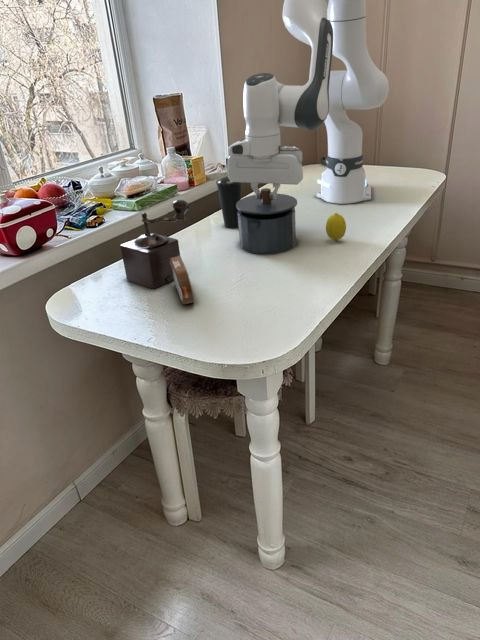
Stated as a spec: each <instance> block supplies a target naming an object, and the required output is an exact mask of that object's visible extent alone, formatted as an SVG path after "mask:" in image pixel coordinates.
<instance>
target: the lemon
mask: <svg viewBox="0 0 480 640" xmlns="http://www.w3.org/2000/svg"><path fill="white" fill-rule="evenodd" d="M346 231H347V224H346V219H345V217H344V216H343V215H342V214H339V213H338V212H335V213H333V214H331V215H330V216H329V217H328V218H327V220H326V223H325V233H326V235H327V236H328V238H329V239H331V240H333V241H334V242H338V240H340V239H342V238H343V237H344V236H345V234H346Z"/></svg>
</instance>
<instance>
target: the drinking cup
mask: <svg viewBox="0 0 480 640" xmlns="http://www.w3.org/2000/svg"><path fill="white" fill-rule="evenodd" d="M228 158H229V157H228ZM228 158H227V157H225V166H226V168H227V162H228ZM215 184H216V185H217V186H216V187H217V191H218V197H219V203H220V208H221V213H222V219H223V223H224V227H225V228H226V229H235V228H239V225H238V209H237V208H236V203H237V202H238V201H239V200H241V199H242V182H231V181H230V180H229V178H228V173H227V172H226V175H225V176H222V177H220V178H219V179H217V180H216V181H215Z"/></svg>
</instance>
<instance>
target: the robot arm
mask: <svg viewBox="0 0 480 640" xmlns="http://www.w3.org/2000/svg"><path fill="white" fill-rule="evenodd" d="M281 13H282V14H281V15H282V16H281V17H282V21H283V24H284V26H285V28H286V30H287V32H288V33H290V35H291V36H293V38H295V39H297V40H298V41H299V42H302V43H304V44H306V45H308V46H310V48H311V55H310V64H309V75H308V81H307V82H306V83H305V84H303V85H290V84H289V85H288V84H283V83H280V82H279V81H277V79H276V75H274V74H273V73H270V72H262V73H257V74H253V75H251V76H249V77H248V78H246V80H245V81H244V85H243V96H242V100H243V101H242V104H243V105H242V106H243V117H244V120H245V121H244V122H245V133H244V134H245V135H244V136H245V138H243V139H240V140H238V141H236V142H234V143H232V144H231V145H229V146H228V148H227V149H228V154H229V156H228V162H227V167H226V174H227V173H228V178H229V180H230V181H231V182H241V183H249V184H250V188H251V189H252V191H253V192H254V195H256V199H261V189H259V187H258V185H259V184H268V185H269V184H271V185H272V188H273V190H272V191H271V193H270V194H269V196H270V200H276V199H277V194H278V192H279V189H280V188H281V185H291V186H293V185H294V186H297V185H299V184H300V183H301V182H302V180H303V179H304V170H303V164H302V163H303V159H304V158H303V156H304V155H303V151H302V150H301V149H300V148H298V147H297V146H295V145H292V146H288V145H282V144H281V129H280V127H286V128H287V127H290V128H299V129H302V130H303V129H304V130H308V131H314V130H317V129H318V128H319V127H320V126H321V125H322V124H323V123H324V125H325V129H326V135H327V136H326V137H327V155H326V157H325V156H321V158H320V164H322V165H324V166H325V167H326V169H325V170H324V171H323V172H321V179H317V184H320V191H319V192H317V193H316V198H319V199H322V200H323V201H325V202H327V203H331V204H340V205H344V204H354V203H359V202H364V201H371V200H372V186H371V185H370V184H368V183H367V179H366V177H367V174H366V170H365V168H364V167H363V166H364V154H363V138H364V137H363V136H364V133H363V130H362V127H361V126H360V125H359V124H358V123H356V122H355V121H353V120H352V119H350V118H349V116H348V115H347V111H346V110H353V111H354V110H355V111H356V110H361V111H367V110H371V109H376V108H381V106H383V105H384V103H385V102H386V100H387V98H388V96H389V92H390V84H389V79H388V77H387V76H386V74H385V73H384V72H383V71H382V70H380V69H379V68H378V67H377V66H376V64H375V63H374V61H373V59H372V57H371V55H370V52H369V49H368V44H367V4H366V0H283V5H282V12H281ZM333 56H334V57H335V58H337V59H339V60H340V61H342V63H343V64H344V66H345V67H346V69H345V70H344V69H343V70H339V69H338V70H332V60H333ZM324 160H325V162H324Z"/></svg>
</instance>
